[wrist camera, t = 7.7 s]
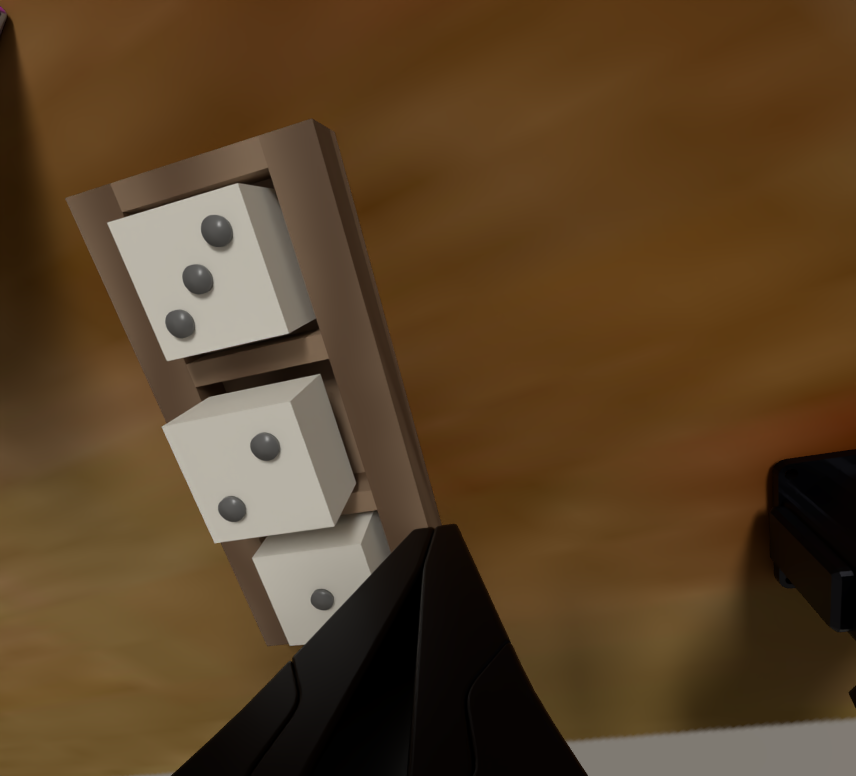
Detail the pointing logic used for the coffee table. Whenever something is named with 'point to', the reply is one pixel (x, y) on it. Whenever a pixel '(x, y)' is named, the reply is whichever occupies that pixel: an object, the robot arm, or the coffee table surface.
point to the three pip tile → (215, 270)
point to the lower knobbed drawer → (319, 570)
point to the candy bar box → (2, 18)
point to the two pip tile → (264, 460)
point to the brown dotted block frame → (290, 353)
